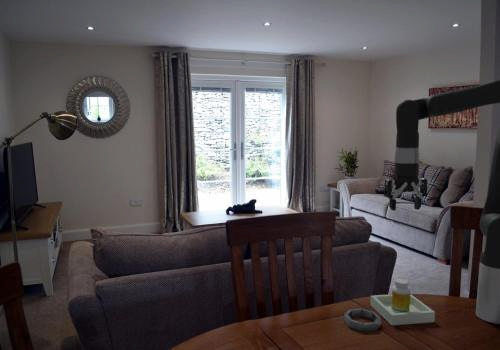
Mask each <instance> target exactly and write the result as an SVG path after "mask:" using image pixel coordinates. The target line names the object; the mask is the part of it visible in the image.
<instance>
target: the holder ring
mask: <svg viewBox="0 0 500 350" xmlns="http://www.w3.org/2000/svg"><path fill="white" fill-rule="evenodd" d="M353 317H354V318H355V317H364V318H367V319H371V320H372V322H371V321H370V322H361V321H357V320H354V319H352V318H353ZM343 321H344V322H345V324H346V325H347V326H348V327H349V328H351V329H355V330H357V331H361V332H373V331H377V330H378V329H379V328H380V327H381V325H382V317H380V315H378V314H377V312H375V311H373V310H369V309H366V308H350V309H348V310H346V312H345V313H344V314H343Z"/></svg>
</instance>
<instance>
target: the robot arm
mask: <svg viewBox="0 0 500 350" xmlns="http://www.w3.org/2000/svg"><path fill="white" fill-rule="evenodd" d="M494 104H500V79H497V80H494V81H491V82H488V83H487V82H486V83H483V84H480V85H475V86H470V87H465V88H459V89H453V90H449V91H444V92H441V93H435V94H432V95H430V96H427V97H424V98H417V99H404V100H402V101H401V102H400V103H398V104H397V107H396V110H395V111H396V112H395V121H396V122H395V123H396V137H395V152H394V172H393V173H394V174H393V175H394V179H388V178H386V179H385V180H384V192H383V196H384V197H385V198H388V199H389V209H390V210H391V211H397V198H398V196H399V195H400V194H402V193H407V192H408V193H412V194H413V195H414V203H413V204H414V205H413V206H414V207H413V208H414V209H415V210H420V209H421V208H422V199H423V198H424V197H428V179H427V178H423V177H420V178H419V174H420V172H419V171H420V133H419V123H420V121H421V120H425V119H428V118H435V117H441V116H446V115H453V114H457V113H461V112H465V111H468V110H473V109H476V108H479V107H484V106H488V105H489V106H490V105H494ZM496 135H497V136H496V139H495V144H494V149H493V153H492V159H491V165H490V174H489V179H488V189H487V195H486V199H485V203H484V205H483V210H482V212H481V215H480V220H479V229H480V232H481V234H482V235H483V236H484V237H485V245H484V246H485V247H484V251H482V252H481V253H480V257H479V266H478V281H477V291H476V292H477V295H476V307H475V315H476V316H477V317H478V318H479V319H481V320H483V321H484V322H488V323H491V324H497V325H498V324H499V325H500V127H499V128H498V131H497V134H496ZM418 185H419V188H418ZM393 186H394V187H393ZM392 187H393V188H392Z"/></svg>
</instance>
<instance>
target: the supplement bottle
mask: <svg viewBox="0 0 500 350" xmlns="http://www.w3.org/2000/svg"><path fill="white" fill-rule="evenodd" d="M391 292H392V293H391V294H392V306H391V308H392V310H393V311H394V312H396V313H407V312H409V308H410V294H411V289H410V288H409V281H408V280H406V279H404V278H403V279H402V278H396V279H395V280H394V286H393V287H392V289H391Z"/></svg>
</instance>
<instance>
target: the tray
mask: <svg viewBox="0 0 500 350" xmlns="http://www.w3.org/2000/svg"><path fill="white" fill-rule="evenodd" d="M369 305H370V306H371V307H372V308H373V309H374V310H375V311H376V313H378V314H379V316H381V318H382V319H383V318H384V320H385V321H386V322H387V323H389V325H391V326H400V325H401V326H402V325H413V324H415V325H416V324H427V323H435V318H436V311H434V310H433V309H432V308H431V307H429V306H427V305H426V304H425V303H423V302H422V301H421V300H420V299H419V298H416V297H415V296H414V295H413V294H411V293H410V308H409V312H407V313H396V312H394V311H393V310H392V308H391V306H392V293H391V294H377V295H370V304H369Z"/></svg>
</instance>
